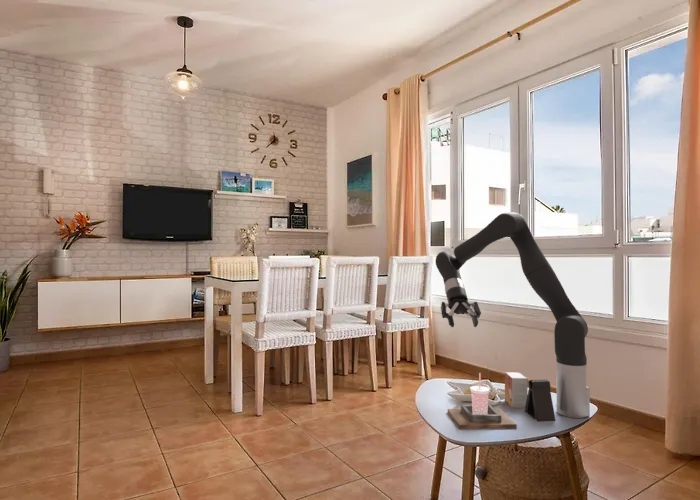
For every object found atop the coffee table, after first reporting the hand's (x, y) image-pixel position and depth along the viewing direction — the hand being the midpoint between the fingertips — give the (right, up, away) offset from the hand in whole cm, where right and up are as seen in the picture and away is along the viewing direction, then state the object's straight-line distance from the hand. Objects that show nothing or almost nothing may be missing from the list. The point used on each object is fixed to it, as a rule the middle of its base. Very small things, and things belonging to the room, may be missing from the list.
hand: (464, 325), depth 160 cm
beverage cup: (0, -27, -18) cm, 32 cm away
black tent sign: (+21, -28, -14) cm, 38 cm away
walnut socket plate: (+1, -28, -18) cm, 33 cm away
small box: (+18, -28, -2) cm, 34 cm away
